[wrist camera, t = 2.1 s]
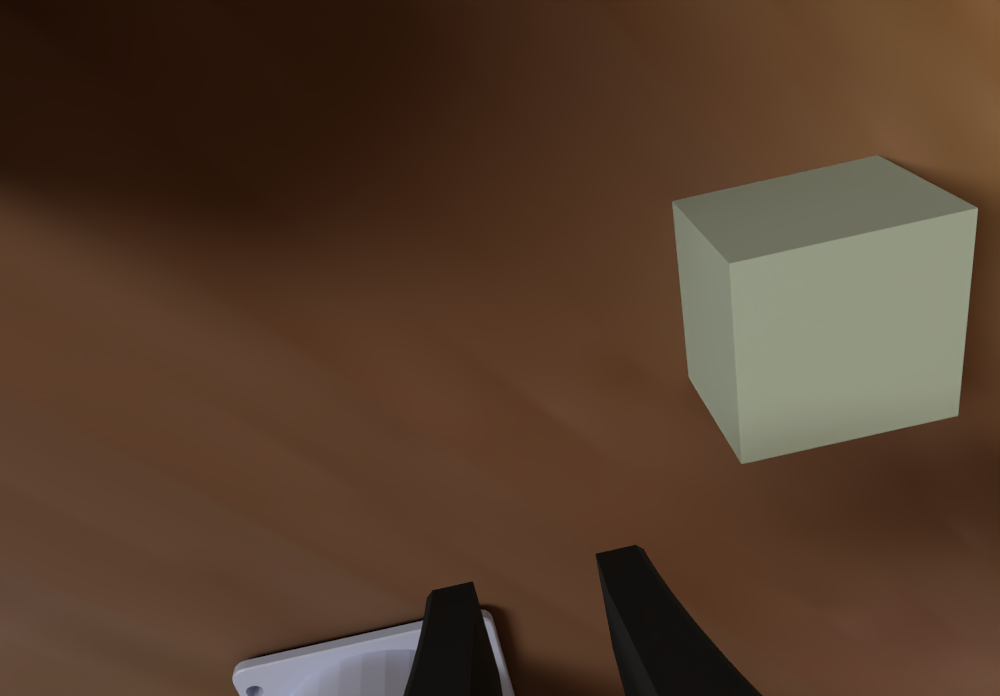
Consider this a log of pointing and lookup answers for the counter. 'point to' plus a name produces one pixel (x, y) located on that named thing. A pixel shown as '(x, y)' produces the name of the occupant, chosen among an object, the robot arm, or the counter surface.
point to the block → (825, 304)
